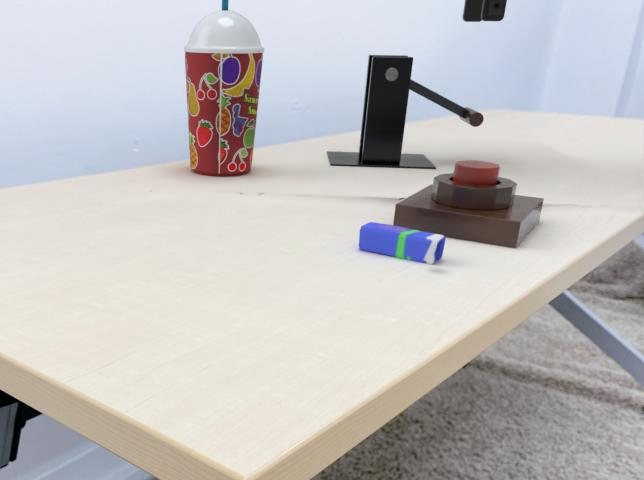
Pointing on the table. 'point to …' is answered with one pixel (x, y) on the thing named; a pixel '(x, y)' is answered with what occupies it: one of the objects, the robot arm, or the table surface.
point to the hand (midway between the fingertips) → (481, 21)
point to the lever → (448, 104)
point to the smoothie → (222, 92)
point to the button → (476, 173)
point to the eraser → (401, 242)
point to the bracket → (384, 118)
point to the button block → (471, 211)
